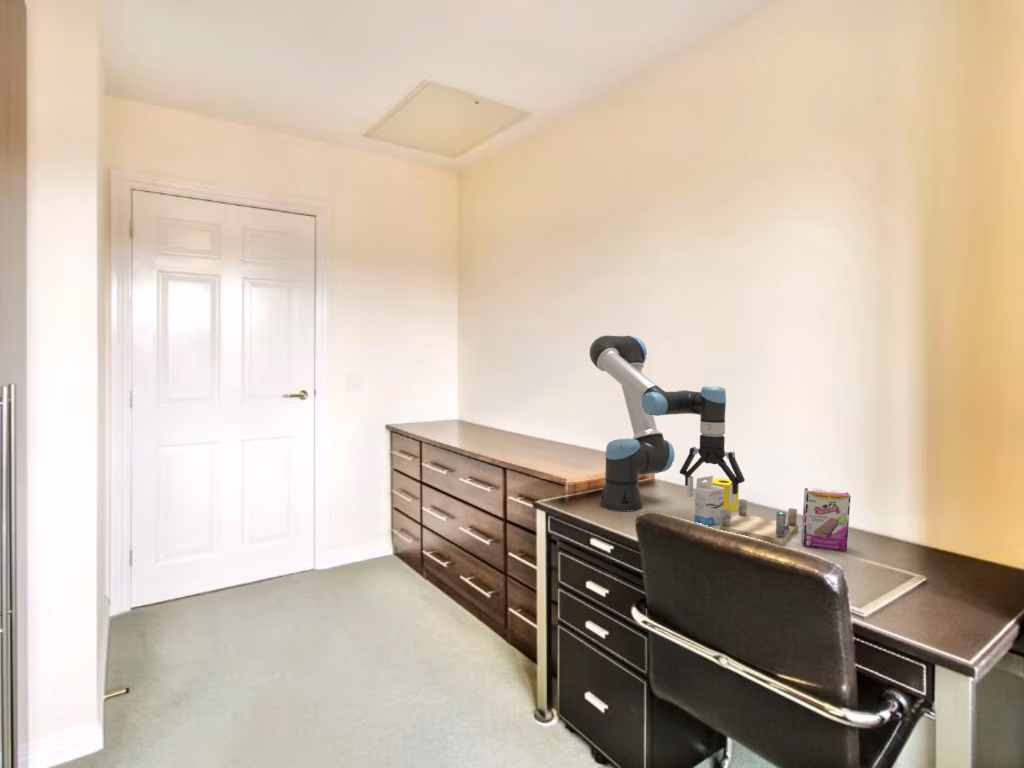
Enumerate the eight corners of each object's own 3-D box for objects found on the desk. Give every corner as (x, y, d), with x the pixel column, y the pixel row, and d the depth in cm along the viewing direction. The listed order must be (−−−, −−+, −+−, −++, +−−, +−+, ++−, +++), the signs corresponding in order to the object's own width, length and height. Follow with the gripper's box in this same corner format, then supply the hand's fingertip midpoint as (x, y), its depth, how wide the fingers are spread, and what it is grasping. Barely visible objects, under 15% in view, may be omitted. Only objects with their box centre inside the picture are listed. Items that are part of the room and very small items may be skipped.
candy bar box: (803, 547, 160) (806, 490, 159) (800, 541, 165) (803, 486, 164) (848, 552, 156) (851, 494, 155) (843, 546, 161) (847, 490, 160)
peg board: (719, 532, 172) (720, 509, 171) (739, 519, 186) (739, 498, 185) (782, 546, 160) (783, 522, 160) (798, 531, 174) (799, 509, 174)
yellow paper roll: (738, 513, 193) (739, 486, 192) (708, 510, 196) (709, 483, 195) (736, 505, 202) (737, 479, 202) (707, 502, 205) (708, 477, 205)
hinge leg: (781, 527, 169) (782, 505, 169) (790, 529, 168) (791, 506, 167) (774, 535, 162) (775, 512, 161) (783, 537, 160) (785, 514, 160)
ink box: (706, 527, 177) (708, 481, 176) (693, 523, 181) (695, 478, 180) (723, 522, 181) (725, 478, 180) (710, 518, 186) (712, 475, 185)
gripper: (670, 432, 184) (669, 495, 186) (748, 440, 168) (746, 509, 169) (680, 429, 190) (678, 491, 191) (756, 437, 174) (754, 504, 175)
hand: (710, 500), depth 180 cm, fingers open, 13 cm apart
